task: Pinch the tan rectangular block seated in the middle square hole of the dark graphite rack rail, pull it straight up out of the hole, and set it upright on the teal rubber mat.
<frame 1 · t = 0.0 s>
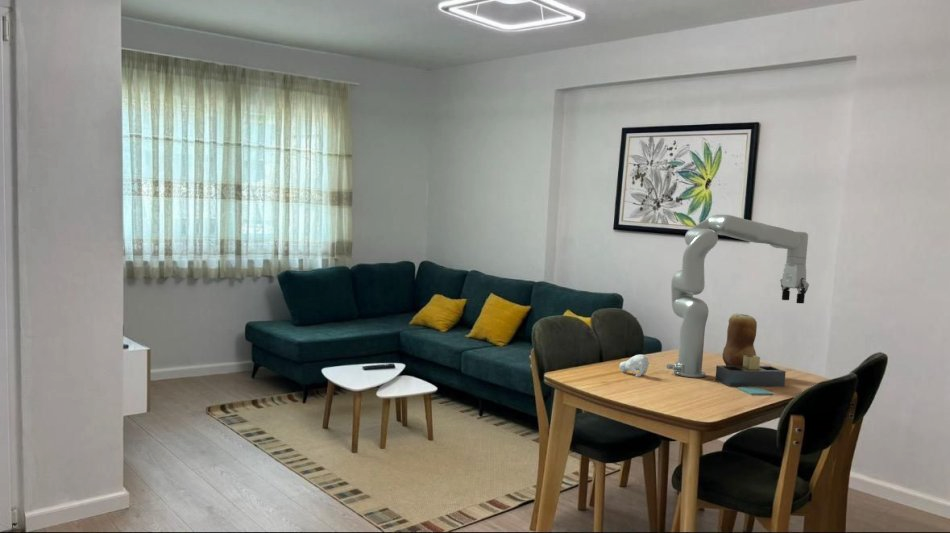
hand: (792, 301, 303), 31 cm above the table, fingers open, 9 cm apart
graphite rack rail: (749, 383, 286), on the table
tan rectangular block: (750, 369, 285), in the graphite rack rail
white animal figurine: (632, 374, 291), on the table
teal rubber mat: (755, 391, 272), on the table
butternut squash: (737, 373, 305), on the table
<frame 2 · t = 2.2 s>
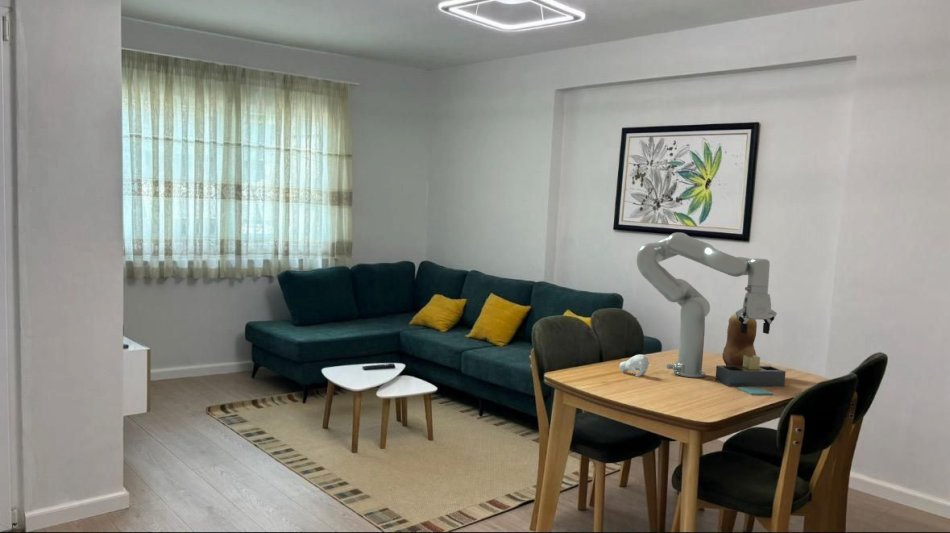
hand: (754, 333, 284), 20 cm above the table, fingers open, 9 cm apart
nothing on the table moved.
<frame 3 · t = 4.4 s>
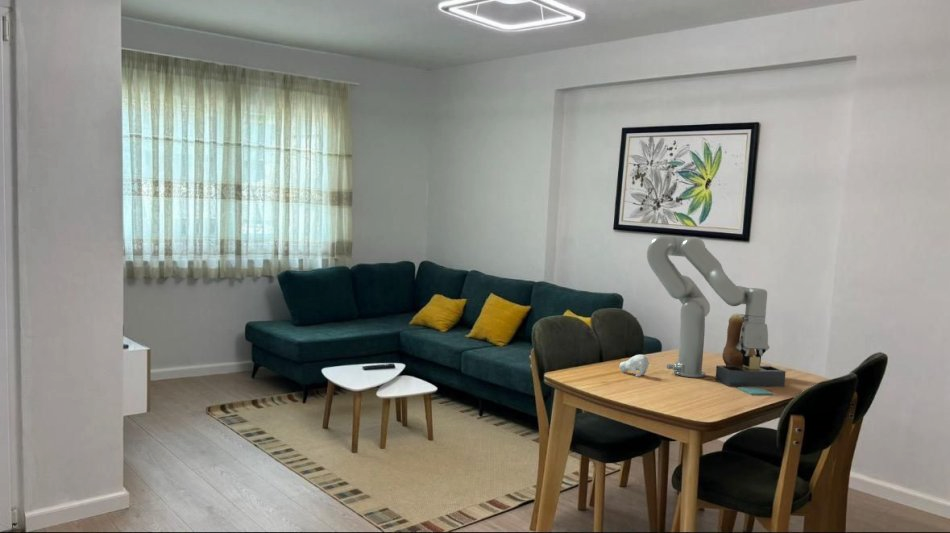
hand: (751, 365, 285), 7 cm above the table, fingers closed on tan rectangular block, 4 cm apart
tan rectangular block: (750, 369, 285), in the graphite rack rail, touching gripper
everything else where it was.
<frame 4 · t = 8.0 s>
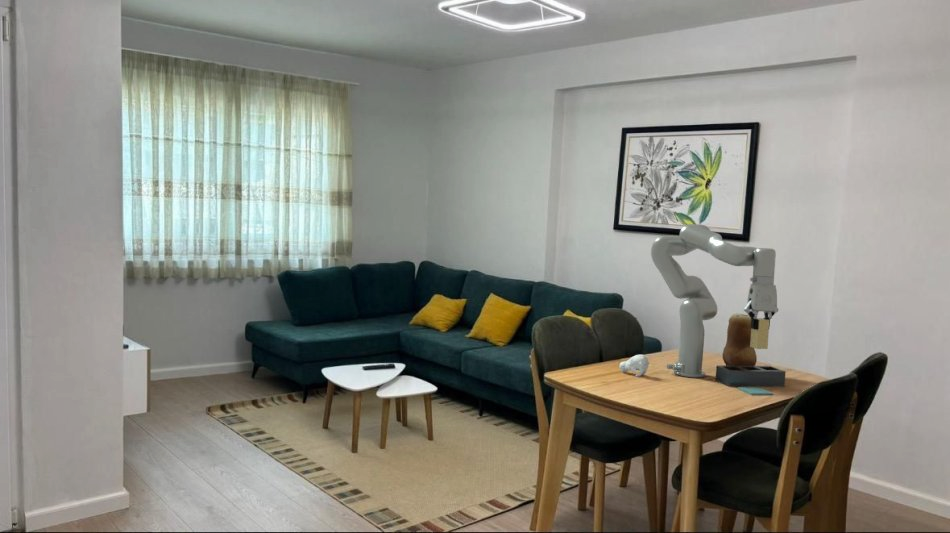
hand: (760, 328, 273), 24 cm above the table, fingers closed on tan rectangular block, 4 cm apart
tan rectangular block: (759, 333, 273), point 22 cm above the table, touching gripper
everything else where it was.
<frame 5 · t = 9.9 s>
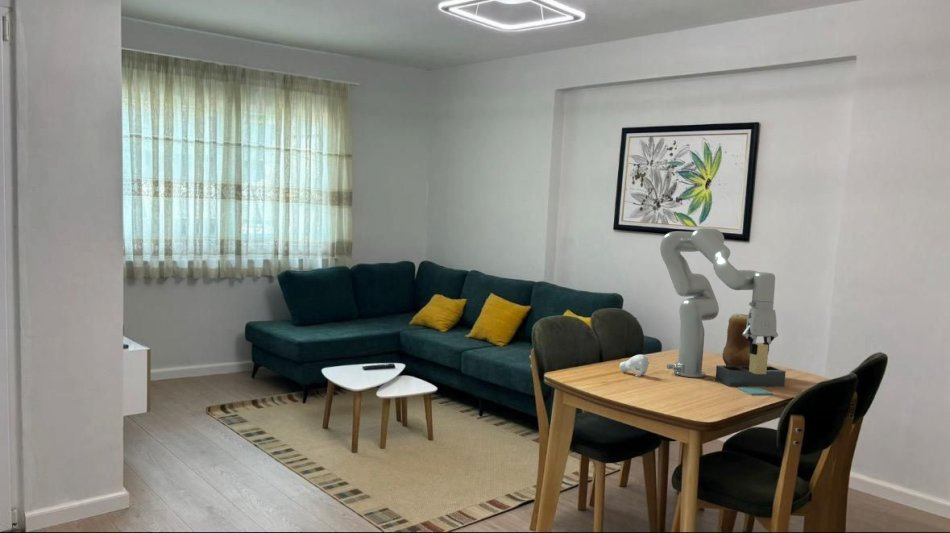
hand: (758, 353, 270), 15 cm above the table, fingers closed on tan rectangular block, 4 cm apart
tan rectangular block: (758, 358, 271), point 13 cm above the table, touching gripper
everything else where it was.
when the fingers open (9 cm above the table, at t = 11.6 s): tan rectangular block drops 2 cm, resting on teal rubber mat.
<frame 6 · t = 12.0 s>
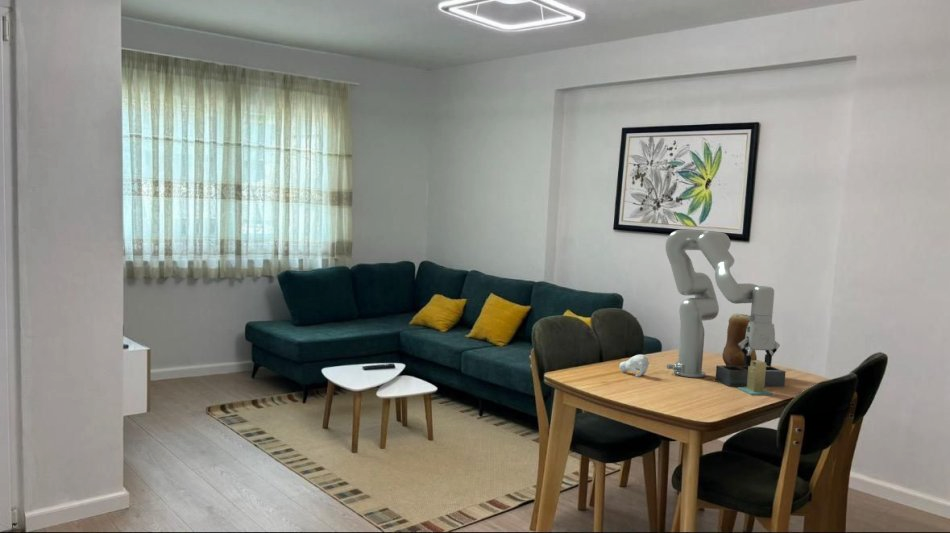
hand: (757, 365, 271), 10 cm above the table, fingers open, 8 cm apart
tan rectangular block: (756, 375, 271), on the teal rubber mat, point 6 cm above the table
everything else where it was.
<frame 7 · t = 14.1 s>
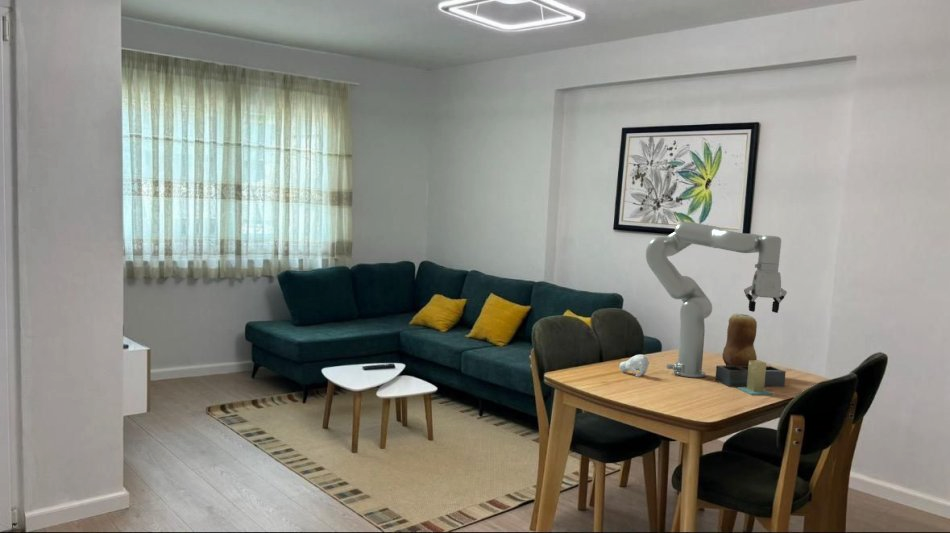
hand: (763, 311, 279), 29 cm above the table, fingers open, 9 cm apart
nothing on the table moved.
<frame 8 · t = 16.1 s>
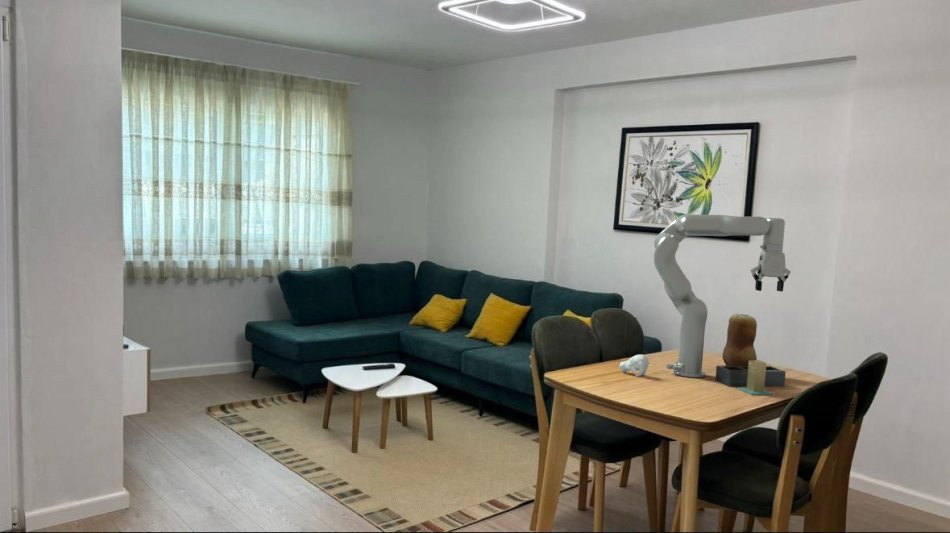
hand: (769, 290, 292), 36 cm above the table, fingers open, 9 cm apart
nothing on the table moved.
at the end: tan rectangular block inside the target area on the teal rubber mat (0.0 cm from its centre), point 6.1 cm above the teal rubber mat's base; tan rectangular block tilted 0°; the gripper is holding nothing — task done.
